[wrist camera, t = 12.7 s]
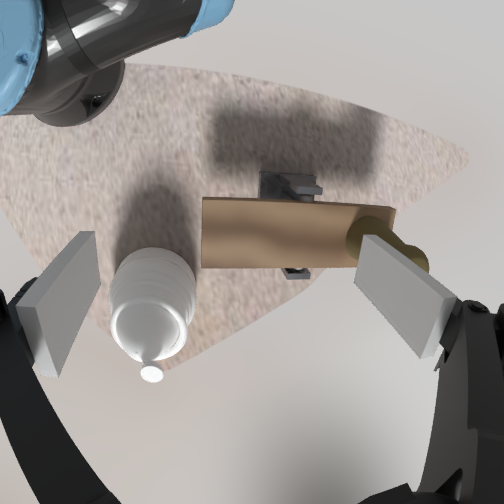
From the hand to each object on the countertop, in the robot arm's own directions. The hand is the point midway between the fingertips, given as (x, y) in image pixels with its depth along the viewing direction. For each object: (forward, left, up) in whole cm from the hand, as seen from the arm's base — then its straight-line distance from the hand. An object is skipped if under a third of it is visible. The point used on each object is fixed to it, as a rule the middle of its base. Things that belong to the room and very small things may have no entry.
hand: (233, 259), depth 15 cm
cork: (+6, +19, -20) cm, 29 cm away
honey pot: (+18, -8, -31) cm, 37 cm away
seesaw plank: (+6, +11, -22) cm, 25 cm away
